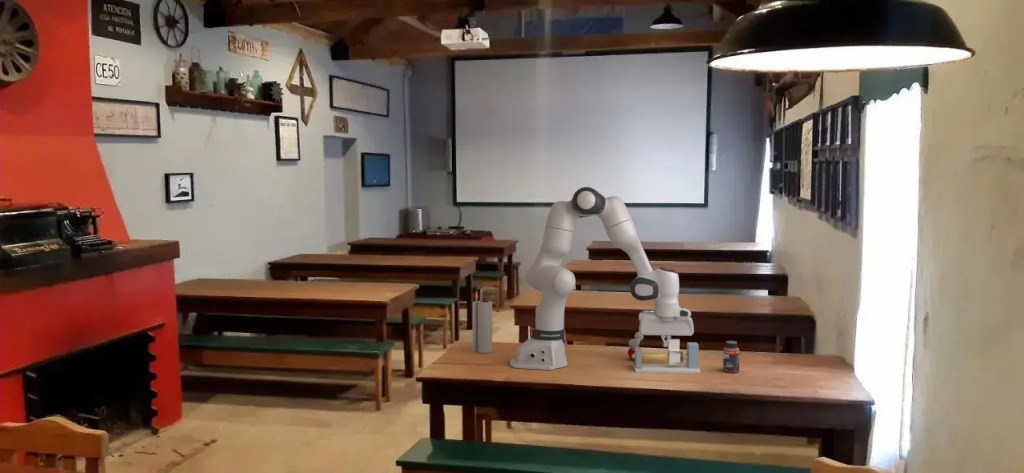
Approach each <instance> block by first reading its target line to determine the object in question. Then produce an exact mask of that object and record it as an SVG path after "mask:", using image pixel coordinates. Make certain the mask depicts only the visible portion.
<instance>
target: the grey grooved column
mask: <svg viewBox="0 0 1024 473" xmlns="http://www.w3.org/2000/svg"><path fill="white" fill-rule="evenodd" d="M474 352H477V353H479V354H492V352H493V301H492V300H476V301H472V353H474Z"/></svg>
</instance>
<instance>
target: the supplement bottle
mask: <svg viewBox="0 0 1024 473" xmlns="http://www.w3.org/2000/svg"><path fill="white" fill-rule="evenodd" d="M722 349H723V350H722V353H723V354H722V371H723V372H725V373H728V374H736V373H740V372H739V371H740V348H739V347H738V341H735V340H726V341H725V346H724V347H723V348H722Z"/></svg>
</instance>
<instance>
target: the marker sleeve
mask: <svg viewBox="0 0 1024 473" xmlns="http://www.w3.org/2000/svg"><path fill="white" fill-rule="evenodd" d="M680 342H681V341H680V338H671V339H670V340H669V342H668V347H667V353H666V354H669V359H666V361H667V364H669V365H680V364H681V361H680V352H681V350H680V347H681V346H680V344H681V343H680Z"/></svg>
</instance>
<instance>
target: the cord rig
mask: <svg viewBox="0 0 1024 473" xmlns="http://www.w3.org/2000/svg"><path fill="white" fill-rule="evenodd" d="M699 346H700V345H699V344H698V342H691V341H690V342H687V344H686V353H684V352H683V351H680V362H683V361H684V360H686V363H680V365H669V364H668V363H643V362H642V361H643V360H644V359H647V360H667V359H669V354H667V353H643V350H642V349H641V346H639V347H635V354H632V358H634V359H635V360H633V363H632V367H633V370H634V372H635V373H671V374H674V373H675V374H676V373H677V374H678V373H684V374H685V373H686V374H687V373H688V374H689V373H690V374H692V373H693V374H697V373H698V374H700V373H701V369H700V368H699V359H700V358H699V357H700V356H699V352H700V351H699V349H700V347H699Z"/></svg>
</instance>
